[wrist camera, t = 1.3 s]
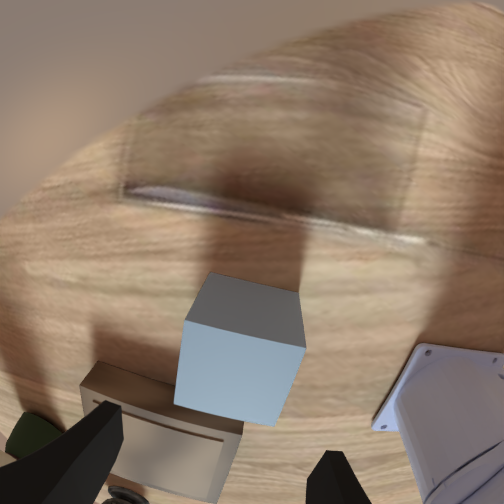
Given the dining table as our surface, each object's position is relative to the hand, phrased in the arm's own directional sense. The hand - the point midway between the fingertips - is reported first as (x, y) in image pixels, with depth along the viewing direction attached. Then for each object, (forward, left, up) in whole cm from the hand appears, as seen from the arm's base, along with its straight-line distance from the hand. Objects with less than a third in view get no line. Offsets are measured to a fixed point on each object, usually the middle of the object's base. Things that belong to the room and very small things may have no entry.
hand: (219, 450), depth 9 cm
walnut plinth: (+4, +12, -9) cm, 16 cm away
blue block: (0, 0, -10) cm, 10 cm away
